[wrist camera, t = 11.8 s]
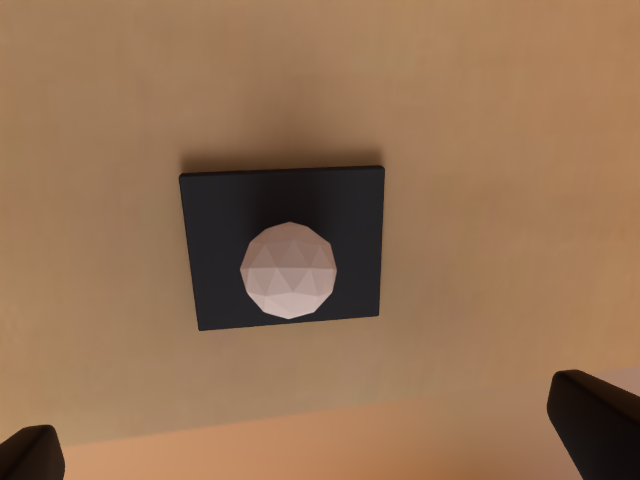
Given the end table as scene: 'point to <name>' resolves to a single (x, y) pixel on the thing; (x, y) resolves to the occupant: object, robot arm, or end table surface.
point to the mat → (274, 209)
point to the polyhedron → (288, 270)
